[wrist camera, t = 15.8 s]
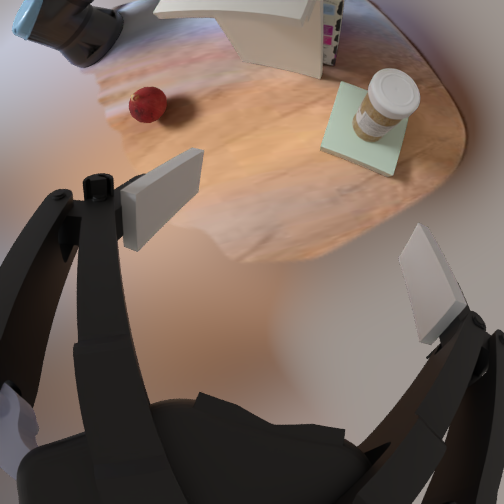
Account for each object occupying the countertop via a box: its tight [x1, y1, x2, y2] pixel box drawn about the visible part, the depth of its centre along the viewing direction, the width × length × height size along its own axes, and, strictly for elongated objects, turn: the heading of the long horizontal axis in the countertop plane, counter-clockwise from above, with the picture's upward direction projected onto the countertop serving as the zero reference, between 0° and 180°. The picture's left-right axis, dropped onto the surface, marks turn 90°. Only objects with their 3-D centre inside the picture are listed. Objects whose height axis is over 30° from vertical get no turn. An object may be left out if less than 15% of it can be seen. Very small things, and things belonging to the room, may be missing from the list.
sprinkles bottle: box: [352, 68, 420, 142], centre depth 23 cm, size 5×5×13 cm
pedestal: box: [320, 81, 409, 177], centre depth 31 cm, size 10×10×3 cm
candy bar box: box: [323, 0, 344, 66], centre depth 22 cm, size 11×5×16 cm, turn 169°
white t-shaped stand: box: [153, 0, 323, 79], centre depth 23 cm, size 12×7×22 cm, turn 71°
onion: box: [129, 87, 167, 123], centre depth 34 cm, size 6×6×8 cm
